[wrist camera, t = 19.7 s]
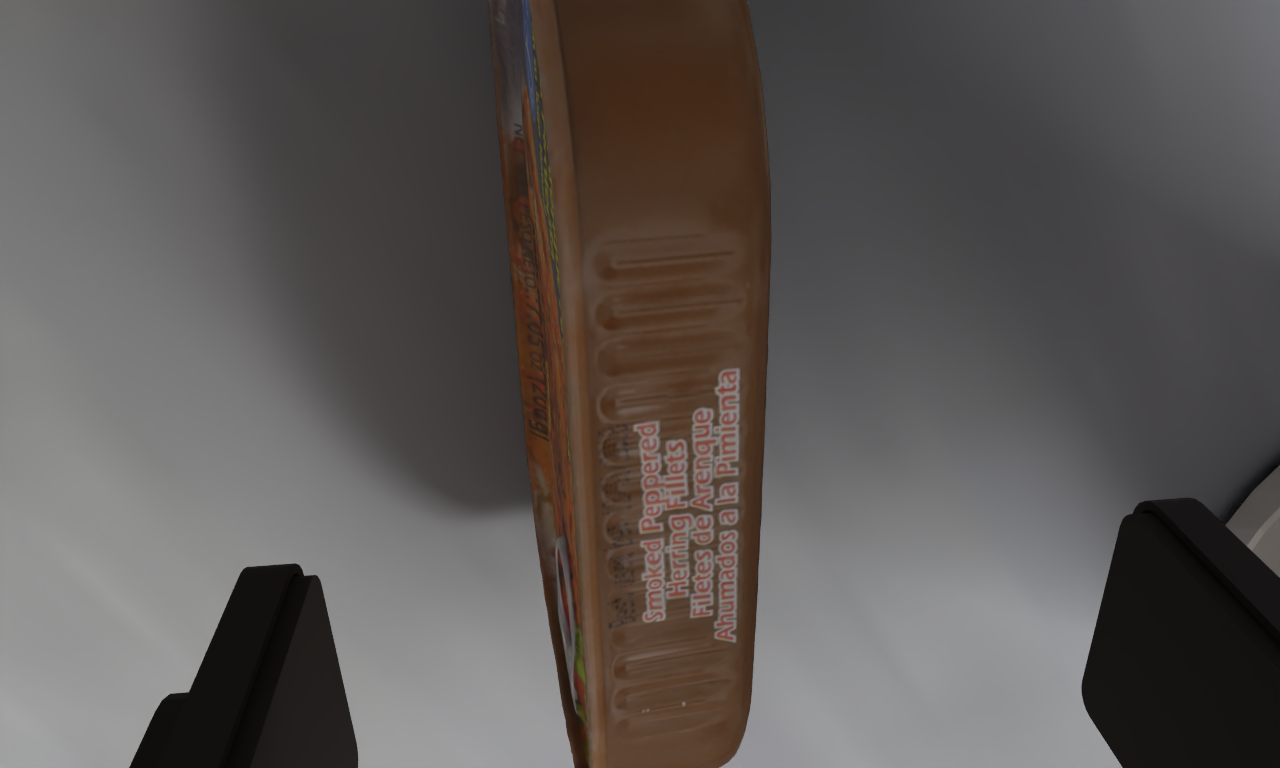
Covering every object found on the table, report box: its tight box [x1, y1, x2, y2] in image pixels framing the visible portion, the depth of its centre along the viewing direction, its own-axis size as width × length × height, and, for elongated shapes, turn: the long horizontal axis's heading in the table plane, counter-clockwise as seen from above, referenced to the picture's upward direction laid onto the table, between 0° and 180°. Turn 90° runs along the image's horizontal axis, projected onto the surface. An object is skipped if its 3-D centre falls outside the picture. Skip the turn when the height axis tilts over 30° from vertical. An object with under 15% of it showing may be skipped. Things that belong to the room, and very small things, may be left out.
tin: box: [489, 0, 771, 768], centre depth 16 cm, size 15×3×8 cm, turn 1°
